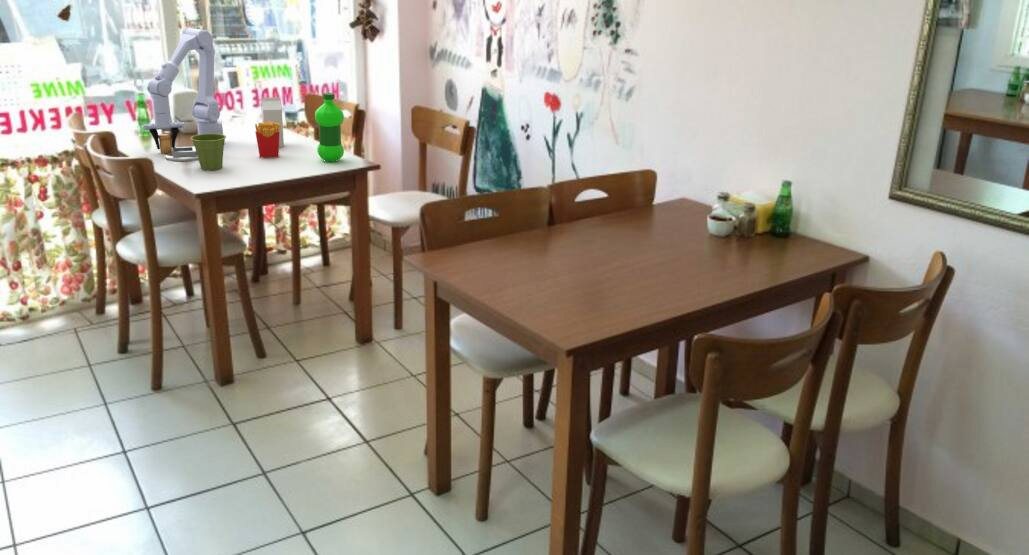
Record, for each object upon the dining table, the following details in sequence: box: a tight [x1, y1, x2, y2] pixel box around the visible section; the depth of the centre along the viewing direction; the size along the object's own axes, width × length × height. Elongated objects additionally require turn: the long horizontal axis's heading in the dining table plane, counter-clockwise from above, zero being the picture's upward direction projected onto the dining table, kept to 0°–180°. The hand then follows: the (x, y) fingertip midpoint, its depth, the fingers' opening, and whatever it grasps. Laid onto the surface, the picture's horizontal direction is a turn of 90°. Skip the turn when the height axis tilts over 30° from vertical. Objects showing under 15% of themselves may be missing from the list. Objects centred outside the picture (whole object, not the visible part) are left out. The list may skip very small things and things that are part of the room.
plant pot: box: [190, 134, 227, 171], centre depth 295 cm, size 12×12×11 cm
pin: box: [158, 133, 172, 155], centre depth 314 cm, size 5×5×7 cm
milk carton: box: [260, 97, 285, 148], centre depth 330 cm, size 7×7×19 cm
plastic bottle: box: [314, 92, 345, 162], centre depth 311 cm, size 10×10×25 cm
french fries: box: [254, 122, 281, 158], centre depth 314 cm, size 9×4×13 cm, turn 108°
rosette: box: [165, 145, 199, 163], centre depth 310 cm, size 20×13×3 cm, turn 113°
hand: (165, 148), depth 314 cm, fingers closed on pin, 5 cm apart
